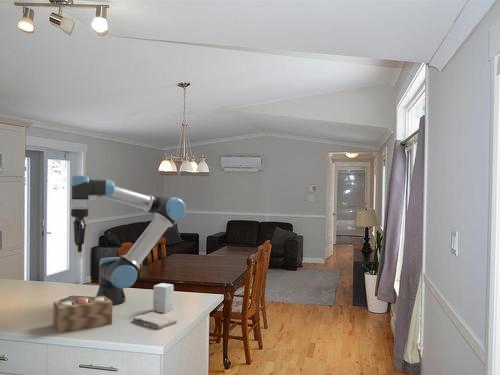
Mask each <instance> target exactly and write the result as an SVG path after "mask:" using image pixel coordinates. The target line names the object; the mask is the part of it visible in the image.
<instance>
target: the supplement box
mask: <svg viewBox="0 0 500 375" xmlns="http://www.w3.org/2000/svg"><path fill="white" fill-rule="evenodd" d="M174 289H175V286H174V284H171V283H165V282H161V283H157V284H155V285H153V290H152V291H153V293H152V294H153V298H152V300H153V303H152V312H155V311H157V312H156V313H161V312H162V313H163V314H167V313H169V312H171V311H173V310H174ZM170 310H171V311H170ZM168 311H169V312H168ZM166 312H167V313H166Z"/></svg>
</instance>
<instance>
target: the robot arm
mask: <svg viewBox="0 0 500 375" xmlns="http://www.w3.org/2000/svg"><path fill="white" fill-rule="evenodd" d="M90 196H96V197H99V198H104V199H106V200H111V201H114V202H117V203H121V204H124V205H128V206H131V207H135V208H139V209H142V210H144V212H146V213H148V214H153V215H154V217H153V219H152V220H151V222H150V223H149V224H148V226H147V227H146V228H145V230H144V231H143V232H142V234H141V235H140V236H139V237H138V238H137V240H136V241H135V242H134V244H133V245H132V247H130V249H129V250H128V252H126V254H123V255H120V256H115V257H113V256H112V257H111V256H110V257H103V258H100V259H99V264H98V267H99V272H98V273H99V274H98V277H99V278H98V280H99V282H98V290H97V293H96V295H95V297H97V296H105V297H107V298H108V299H109V300H111V301H112V306H115V305H121V304H123V303H126V293H125V290H124V289H128V288H131V286H133V285H134V284H135V283H136V281H137V279H138V273H139V271H140V269H141V266H140V265H141V264H142V262H143V261H144V260H145V258H146V257H147V256H148V255H149V254H150V252H151V250H152V249H153V248H154V247H155V245H156V244H157V242H159V240H160V239H161V237H162V236H163V235H164V233H165V232H166V231H167V230H168V229H169V228H170V227H171V228H172V227H173V226H174V225H175V223H176V222H178V221H181V220H182V219H183V218H184V217H185V216H186V214H187V208H186V204H185V201H183V200H182V199H181V198H177V197H170V196H156V195H153V194H149V195H146V194H143V193H141V192H136V191H133V190H130V189H126V188H123V187H120V186H116V185H115V182H114V181H113V180H111V179H110V180H109V179H92V178H91V179H90V177H89V176H88V175H73V176H72V178H71V201H70V204H71V209H70V216H71V217H72V218H74V221H73V224H72V225H73V236H74V237H73V238H74V241H73V242H74V243H75V259H76V260H81V259H83V248H84V247H83V245H84V244H85V235H86V228H87V225H86V221H85V218H87V217H88V216H89V209H88V208H89V207H90V206H89V203H90V202H89V197H90Z"/></svg>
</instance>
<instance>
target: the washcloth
mask: <svg viewBox="0 0 500 375" xmlns="http://www.w3.org/2000/svg"><path fill="white" fill-rule="evenodd" d="M132 321H133V322H134V321H135V322H134V323H136V322H138V323H137V324H139V323H141V324H140V325H142V324H145V325H148V326H151V327H150V328H152V327H154V328H153V329H155V328H156V329H155V330H161V329H163V327H164V328H165V327H170V326H172V325H176V324H177V323H178V321H177V319H176V318H173V317H170V316H167V315H164V314H161V313H158V312H155V311H149V312H146V313H145V314H138V315H136V316H134V317H133V319H132ZM145 325H144V326H145ZM169 325H170V326H169ZM148 326H147V327H148ZM160 328H161V329H160Z"/></svg>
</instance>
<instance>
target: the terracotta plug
mask: <svg viewBox="0 0 500 375" xmlns="http://www.w3.org/2000/svg"><path fill="white" fill-rule="evenodd" d="M77 299H78V304H83V303H88V300H89V297H87V296H86V297H78V298H77Z"/></svg>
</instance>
